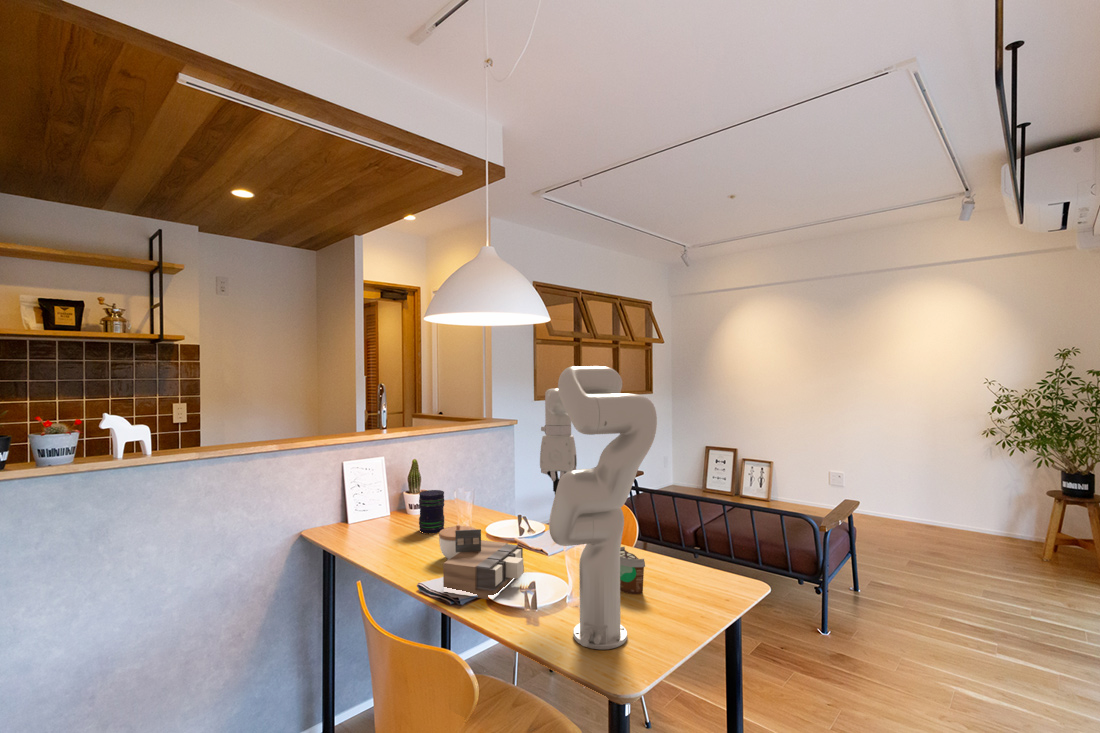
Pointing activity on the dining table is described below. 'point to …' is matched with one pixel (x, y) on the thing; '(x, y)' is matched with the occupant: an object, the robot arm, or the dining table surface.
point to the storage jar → (431, 511)
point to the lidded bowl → (450, 540)
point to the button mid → (514, 567)
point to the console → (477, 564)
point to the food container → (631, 573)
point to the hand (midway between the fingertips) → (558, 494)
